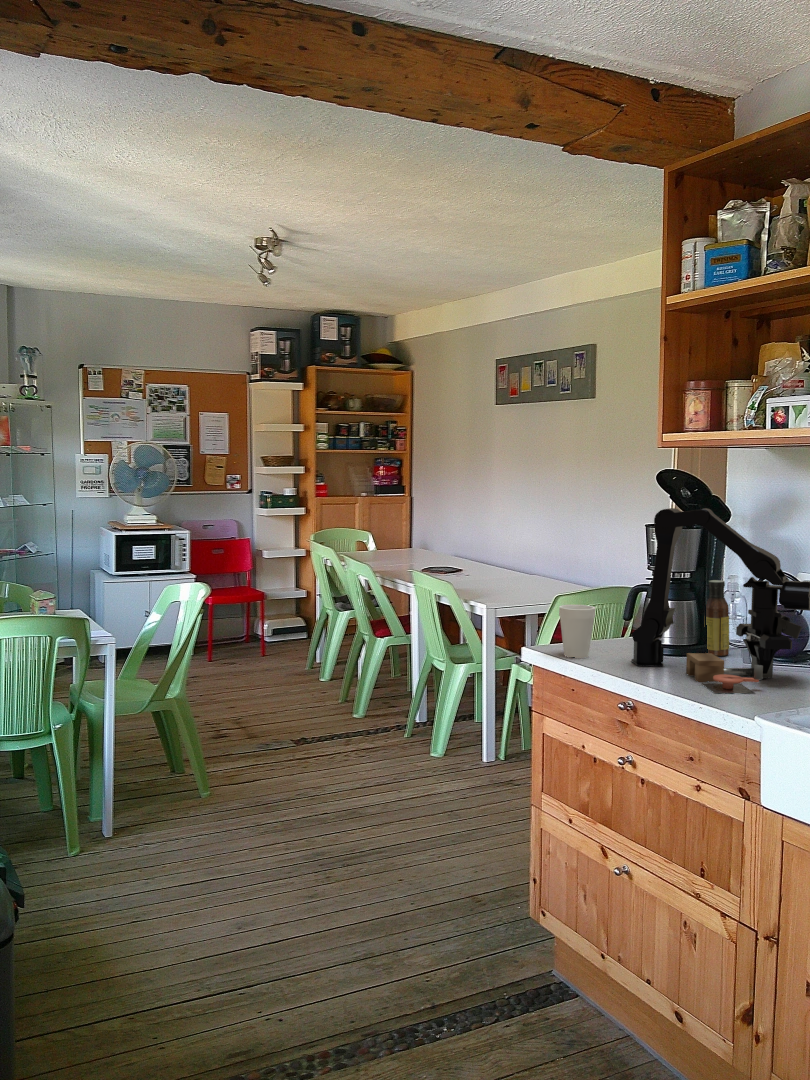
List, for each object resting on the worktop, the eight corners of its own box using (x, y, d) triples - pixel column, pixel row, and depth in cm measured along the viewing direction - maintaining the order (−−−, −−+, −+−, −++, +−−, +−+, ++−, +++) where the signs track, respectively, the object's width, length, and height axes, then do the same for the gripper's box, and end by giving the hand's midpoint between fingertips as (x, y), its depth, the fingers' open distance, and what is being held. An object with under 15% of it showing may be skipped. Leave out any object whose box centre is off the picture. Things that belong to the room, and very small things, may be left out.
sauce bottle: (725, 652, 252) (728, 579, 250) (731, 657, 246) (734, 582, 244) (700, 651, 252) (703, 579, 251) (706, 656, 246) (708, 582, 245)
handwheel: (715, 690, 208) (716, 667, 208) (710, 683, 214) (711, 661, 214) (765, 692, 207) (766, 668, 206) (758, 685, 213) (759, 662, 212)
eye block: (698, 681, 217) (698, 660, 217) (686, 673, 226) (686, 653, 226) (723, 681, 218) (724, 660, 217) (710, 673, 226) (711, 653, 226)
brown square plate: (715, 693, 206) (715, 692, 206) (701, 684, 215) (701, 683, 215) (755, 693, 206) (755, 692, 206) (739, 684, 215) (739, 683, 215)
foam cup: (572, 660, 240) (573, 610, 239) (551, 654, 248) (552, 605, 247) (601, 657, 244) (602, 608, 243) (579, 651, 252) (580, 603, 251)
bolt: (701, 678, 220) (702, 657, 220) (697, 675, 223) (697, 654, 223) (772, 678, 221) (773, 657, 220) (767, 675, 224) (768, 654, 223)
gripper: (816, 613, 212) (813, 681, 213) (781, 601, 230) (778, 663, 231) (767, 613, 211) (764, 681, 213) (736, 601, 230) (734, 663, 231)
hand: (761, 671), depth 222 cm, fingers closed on bolt, 3 cm apart
